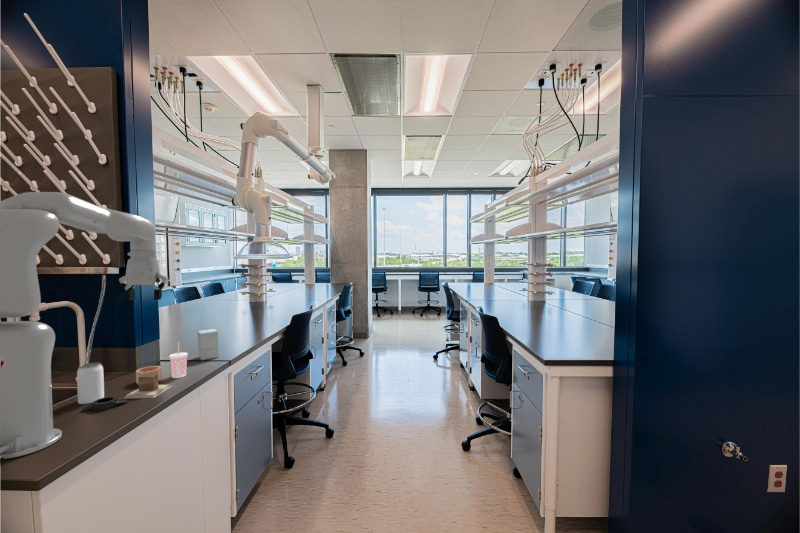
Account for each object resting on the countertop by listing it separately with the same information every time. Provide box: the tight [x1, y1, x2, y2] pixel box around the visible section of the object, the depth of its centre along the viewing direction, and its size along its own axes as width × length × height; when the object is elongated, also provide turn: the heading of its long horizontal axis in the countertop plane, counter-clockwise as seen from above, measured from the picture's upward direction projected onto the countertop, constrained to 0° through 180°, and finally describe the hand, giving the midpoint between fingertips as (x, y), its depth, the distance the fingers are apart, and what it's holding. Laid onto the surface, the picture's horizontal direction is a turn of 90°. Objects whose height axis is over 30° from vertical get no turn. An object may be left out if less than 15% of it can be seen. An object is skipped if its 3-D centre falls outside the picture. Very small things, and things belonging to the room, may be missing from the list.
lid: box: [125, 374, 171, 399], centre depth 118 cm, size 9×9×6 cm
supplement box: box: [197, 328, 219, 361], centre depth 160 cm, size 7×7×13 cm
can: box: [76, 362, 105, 405], centre depth 112 cm, size 6×6×12 cm
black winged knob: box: [81, 395, 129, 412], centre depth 107 cm, size 8×10×3 cm
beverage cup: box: [169, 341, 189, 379], centre depth 134 cm, size 6×6×14 cm
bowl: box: [135, 365, 162, 385], centre depth 129 cm, size 8×8×5 cm
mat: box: [123, 385, 173, 400], centre depth 118 cm, size 10×10×1 cm
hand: (144, 299), depth 130 cm, fingers open, 9 cm apart
